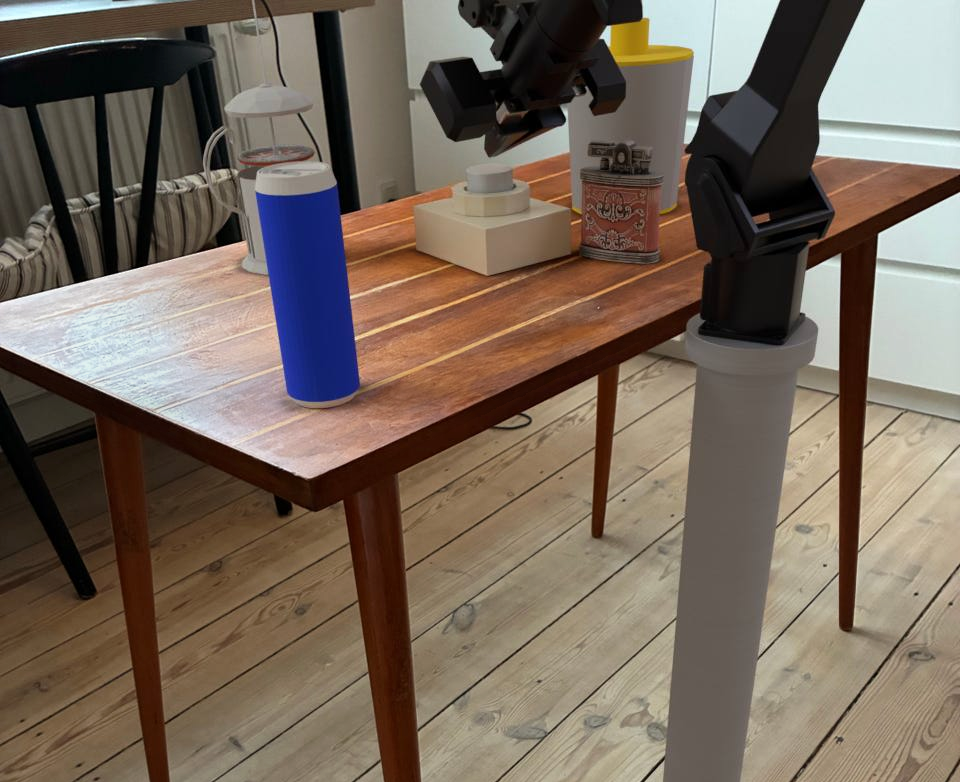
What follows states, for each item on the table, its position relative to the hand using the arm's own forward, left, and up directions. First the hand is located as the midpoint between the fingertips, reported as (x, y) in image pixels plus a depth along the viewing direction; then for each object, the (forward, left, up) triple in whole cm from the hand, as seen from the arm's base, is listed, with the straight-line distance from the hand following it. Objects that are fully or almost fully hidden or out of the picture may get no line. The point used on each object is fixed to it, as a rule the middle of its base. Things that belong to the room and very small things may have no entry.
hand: (489, 152), depth 96 cm
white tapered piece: (-5, -21, -9) cm, 23 cm away
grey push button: (0, 0, -3) cm, 3 cm away
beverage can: (-6, +36, -9) cm, 38 cm away
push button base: (0, 0, -9) cm, 9 cm away
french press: (+18, +10, -9) cm, 23 cm away
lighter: (-12, -3, -9) cm, 15 cm away
